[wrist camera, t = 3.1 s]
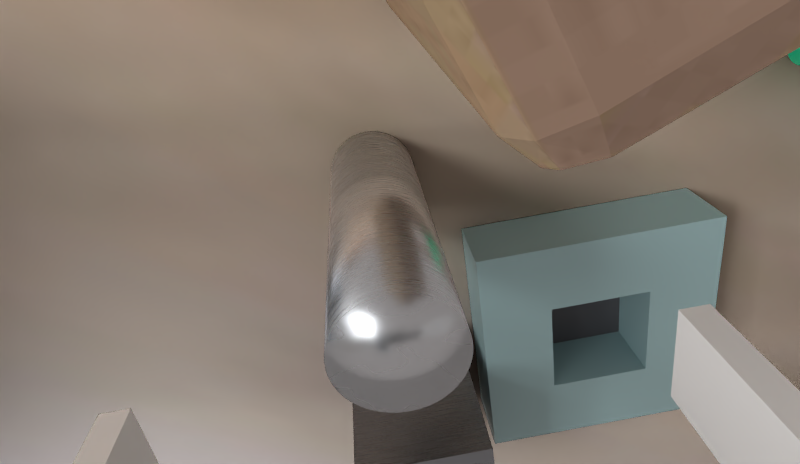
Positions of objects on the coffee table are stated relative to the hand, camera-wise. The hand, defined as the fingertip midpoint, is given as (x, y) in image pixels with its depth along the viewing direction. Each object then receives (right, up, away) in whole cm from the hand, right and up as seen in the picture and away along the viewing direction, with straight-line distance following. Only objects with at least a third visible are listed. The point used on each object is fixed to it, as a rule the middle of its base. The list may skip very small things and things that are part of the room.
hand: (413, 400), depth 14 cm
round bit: (-2, +7, +14) cm, 16 cm away
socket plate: (+10, 0, +19) cm, 21 cm away
